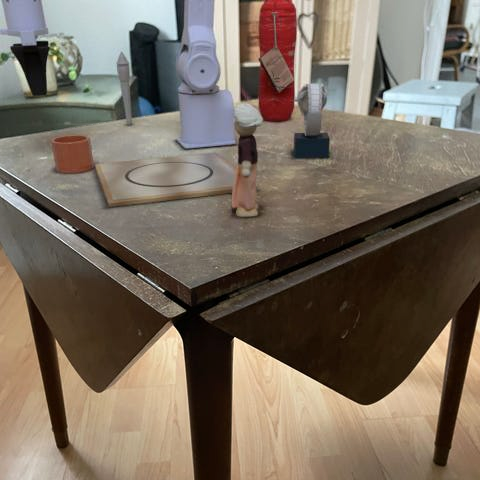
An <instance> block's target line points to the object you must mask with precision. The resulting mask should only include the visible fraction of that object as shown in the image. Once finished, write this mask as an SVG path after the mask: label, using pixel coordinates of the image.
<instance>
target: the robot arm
mask: <svg viewBox="0 0 480 480" xmlns="http://www.w3.org/2000/svg"><path fill="white" fill-rule="evenodd" d="M42 1H43V0H1V4H2V8H3V13H4V17H5V18H4V19H5V23H6V28H3V29H1V28H0V35H4V36H5V35H7V36H10V37H17V38H19V39H20V41H21V42H20V43H19V42H18V43H13V44H12V45H10V47H9V49H10V51H11V53H12V54H13V57H15V58H16V60H17V63H18V64H19V65H20V68H21V70H22V72H23V74H24V77H25V80H26V83H27V85H28V88H29V91H30V93H31V95H32V97H43V96H47V94H48V79H47V64H48V56H49V53H50V50H51V46H49V45H50V44H49V40H37V39H38V38H39V36H44V35H48V34H49V28H48V27H47V25H46V18H45V13H44V7H43V2H42ZM215 1H216V0H184V9H183V11H184V12H183V13H184V15H183V29H182V35H181V46H180V50H179V53H178V55H177V56H176V60H175V71H176V73H177V76H178V77H179V79H180V80H181V84H180V86H179V87H177V94H178V95H177V96H178V97H177V98H178V107H179V108H178V109H179V124H180V136H176V137H175V140H176V141H177V143H179V145H180V146H181V147H183V148H184V149H187V150H189V149H199V148H208V147H210V148H211V147H219V146H221V147H222V146H230V145H236V144H237V141H236V139H235V138H236V137H235V127H234V123H235V118H234V110H235V105H234V97H233V95H232V93H231V91H230V90H229V89H220V86H219V85H218V82H219V80H220V78H221V73H222V72H221V71H222V70H221V64H220V62H219V59H218V56H217V55H218V54H217V41H216V37H215V32H214V25H215V24H214V23H215V20H214V19H215V18H214V17H215Z"/></svg>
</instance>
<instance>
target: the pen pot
mask: <svg viewBox="0 0 480 480" xmlns="http://www.w3.org/2000/svg"><path fill="white" fill-rule="evenodd" d="M50 143H51V150H52V154H53V159H54V164H55V170H56V171H57V172H58V173H63V174H78V173H84V172H89V171H90V170H92V169H94V168H95V163H94V156H93V150H92V144H91V138H90V136H88V135H84V134H67V135H61V136H57V137H53V138H52V139H50Z"/></svg>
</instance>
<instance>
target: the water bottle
mask: <svg viewBox="0 0 480 480" xmlns="http://www.w3.org/2000/svg"><path fill="white" fill-rule="evenodd" d="M297 17H298V16H297V7H296V6H295V4H294V2H293V0H264V1H263V3H262V5H261V7H260V10H259V15H258V46H259V57H258V59H257V60H258V62H259V80H258V111H259V113H260V115H261V117H262V118H263V121H267V122H275V123H276V122H277V123H278V122H285V121H288V120H290V119H291V118H292V115H293V113H294V109H295V97H296V90H295V89H296V88H295V55H296V47H297V38H298V37H297V32H298V30H297V29H298V18H297Z"/></svg>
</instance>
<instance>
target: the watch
mask: <svg viewBox="0 0 480 480" xmlns="http://www.w3.org/2000/svg"><path fill="white" fill-rule="evenodd" d="M327 101H328V91H327V89H326V88H325V85H324V84H323V83H306V84H304V85H303V86H302V87H300V89H299V90H298V91H297V95H296V96H295V101H294V103H297V105H298V107H299V109H300V111H299V112H300V114H301V116H302V117H303V131H304V132H294V133H293V156H294V159H329V155H330V143H331V141H330V140H331V138H330V136H329V133H328V132H321V129H322V121H323V113H322V112H323V109H324V108H325V106H326V104H327V103H328V102H327Z"/></svg>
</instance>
